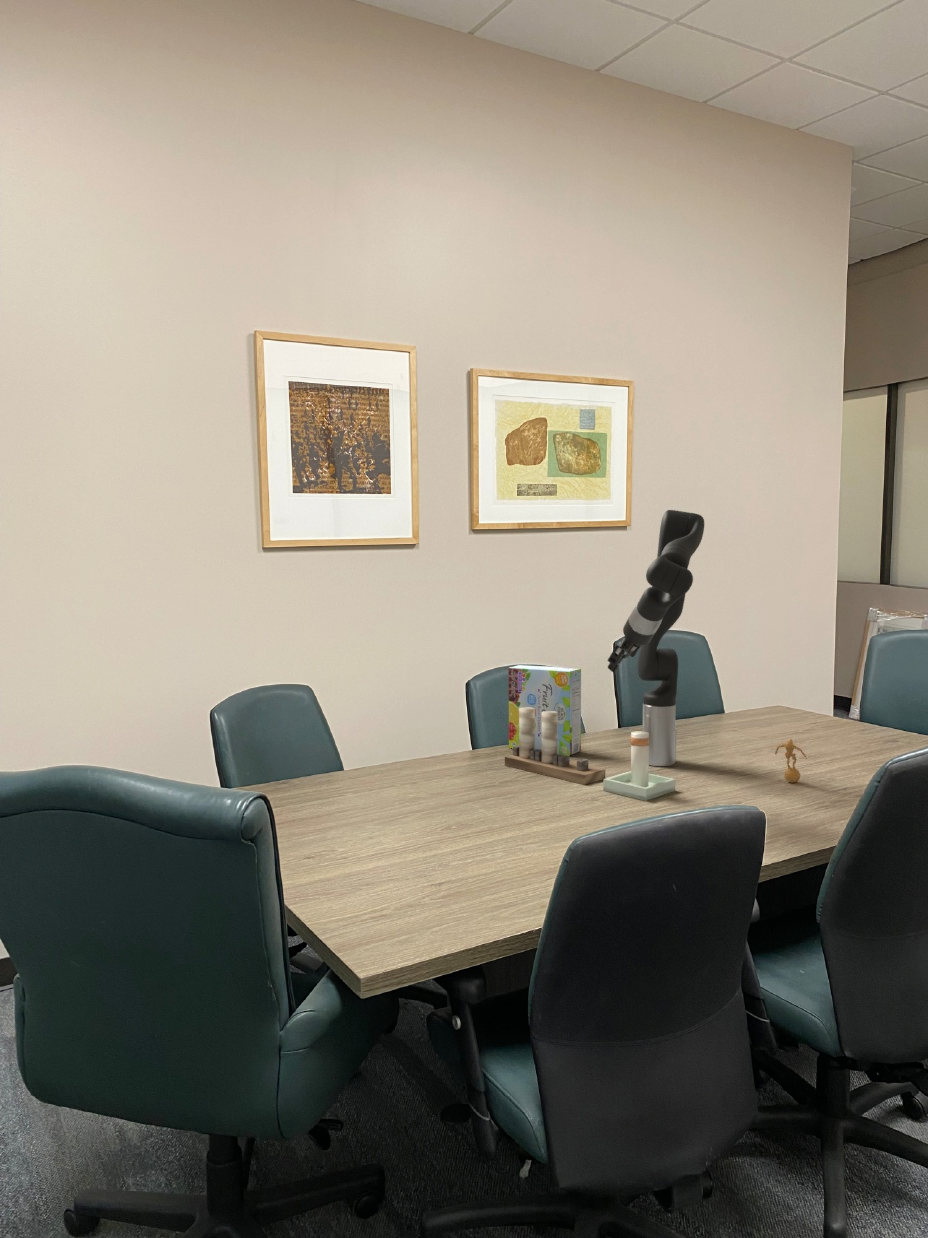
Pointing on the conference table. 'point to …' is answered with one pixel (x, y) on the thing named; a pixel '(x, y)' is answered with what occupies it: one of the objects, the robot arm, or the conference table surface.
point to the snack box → (547, 703)
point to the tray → (624, 787)
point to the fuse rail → (557, 770)
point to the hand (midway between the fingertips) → (620, 662)
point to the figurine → (792, 773)
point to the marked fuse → (639, 758)
